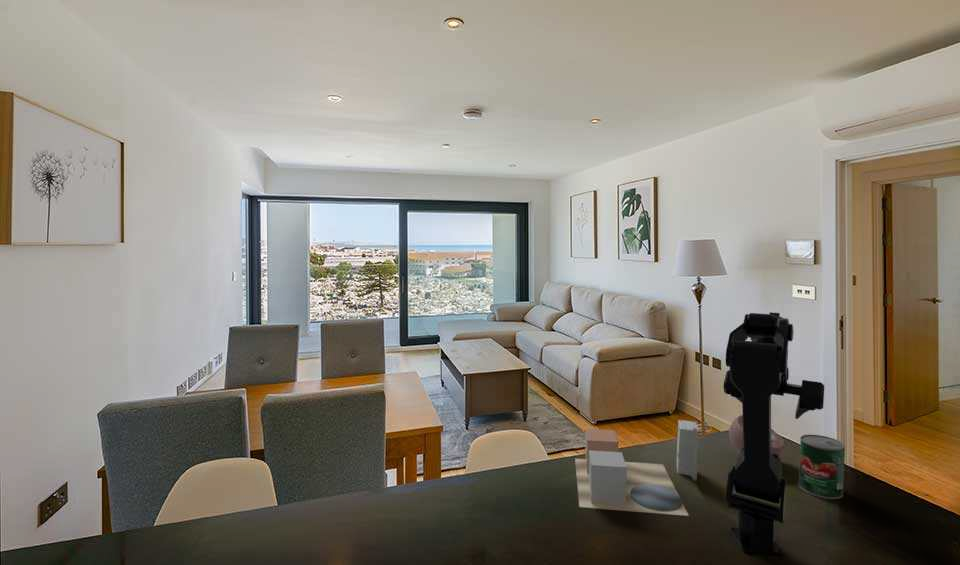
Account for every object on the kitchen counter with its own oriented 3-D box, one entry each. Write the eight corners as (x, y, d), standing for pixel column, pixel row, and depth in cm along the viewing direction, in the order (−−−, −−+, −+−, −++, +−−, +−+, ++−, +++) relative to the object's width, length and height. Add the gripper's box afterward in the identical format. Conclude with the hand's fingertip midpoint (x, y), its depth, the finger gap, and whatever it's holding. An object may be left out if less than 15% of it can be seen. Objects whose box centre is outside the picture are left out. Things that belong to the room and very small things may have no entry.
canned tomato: (801, 494, 98) (803, 444, 97) (795, 478, 105) (797, 431, 104) (847, 503, 94) (849, 451, 94) (838, 485, 101) (840, 438, 101)
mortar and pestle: (775, 477, 105) (777, 429, 105) (721, 460, 114) (722, 416, 113) (789, 461, 113) (791, 416, 113) (737, 446, 122) (738, 405, 121)
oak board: (688, 521, 88) (688, 514, 88) (579, 512, 92) (579, 505, 92) (662, 468, 110) (662, 463, 110) (574, 463, 113) (575, 457, 113)
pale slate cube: (626, 505, 92) (626, 467, 92) (591, 502, 93) (591, 465, 93) (621, 487, 99) (621, 452, 98) (588, 485, 100) (588, 450, 100)
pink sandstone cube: (618, 475, 104) (618, 442, 104) (587, 473, 106) (587, 440, 105) (614, 461, 111) (614, 430, 111) (585, 460, 112) (585, 428, 112)
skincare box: (675, 467, 111) (676, 419, 110) (695, 470, 109) (696, 421, 108) (677, 479, 105) (678, 428, 104) (698, 482, 103) (699, 430, 103)
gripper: (826, 345, 97) (824, 395, 105) (729, 335, 109) (733, 381, 116) (824, 382, 90) (822, 433, 98) (720, 368, 102) (725, 414, 109)
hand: (772, 413), depth 106 cm, fingers open, 9 cm apart
